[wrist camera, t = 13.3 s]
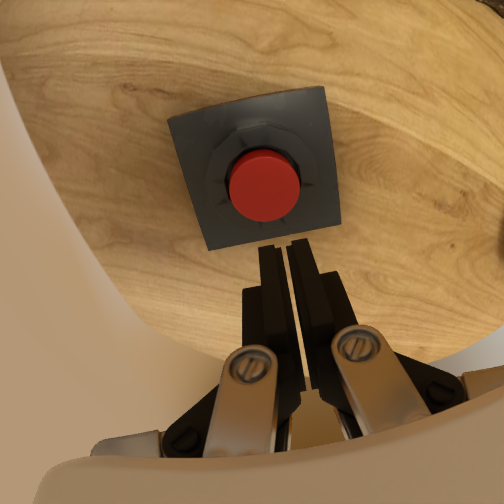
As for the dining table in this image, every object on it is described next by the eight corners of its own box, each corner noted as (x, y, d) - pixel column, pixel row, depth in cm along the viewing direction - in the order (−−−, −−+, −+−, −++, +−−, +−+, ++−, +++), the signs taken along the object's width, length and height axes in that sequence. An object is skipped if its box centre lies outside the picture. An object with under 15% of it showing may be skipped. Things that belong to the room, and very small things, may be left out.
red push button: (238, 215, 20) (238, 228, 19) (223, 156, 18) (221, 165, 17) (299, 202, 20) (304, 214, 18) (289, 143, 18) (293, 150, 16)
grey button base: (209, 243, 24) (206, 265, 22) (170, 117, 19) (160, 124, 16) (337, 217, 23) (348, 236, 21) (319, 85, 18) (332, 87, 16)
